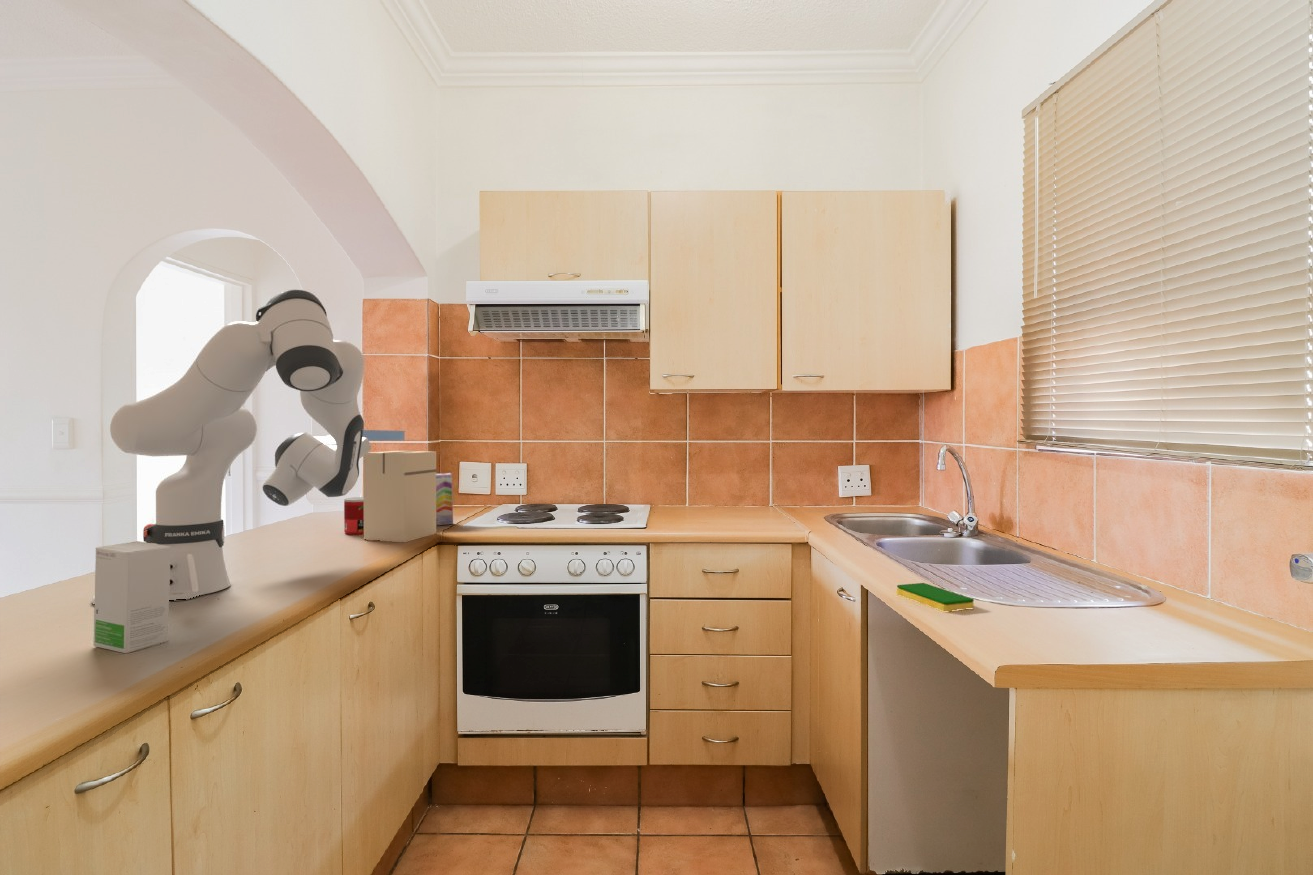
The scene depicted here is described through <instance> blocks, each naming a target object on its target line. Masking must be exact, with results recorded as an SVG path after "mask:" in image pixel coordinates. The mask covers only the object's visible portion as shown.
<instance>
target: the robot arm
mask: <svg viewBox="0 0 1313 875" xmlns="http://www.w3.org/2000/svg"><path fill="white" fill-rule="evenodd" d="M327 315H328V314H327V312H326V308H325V307H324V305H323V304H322V302H321V301H320V300H319V298H318V297H317V296H316V295H315V294H314V293H312V292H310V291H307V290H303V289H289V290H284V291H282V292H280V293H277V294H276V295H274V296H273V297H271V299H269V300H268V302H267V303H266V305H263V306H262V307H259V308H258V309H257V311H256V313H255V321H256V322H248V321H241V320H240V321H233V322H229V323H228V324H225V325H224V326H223V327H221V328H220V330H218V331H217V332H215V334H214V335H213V336H212V337H211V338H210V339H209V340H208V341H207V343H206V344H205V345H204V347H203V348H202V349H201V351H200V352H199V353H198V355H197V357H196V358H195V360H194V361H193V362H192V364H191V365H190V366H189V368H188V369H187V371H186V372H185V373H184V375H183V376H182V377H181V378H180V379H179V380H177V381H176V382H174V383H173V384H172V385H170V386H168V387H167V388H165V389H163V390H162V391H160V392H158V393H156V394H154V395H152V396H150V397H149V396H148V397H147V398H145V399H142V400H139V401H136V402H130V403H127V404H124V405H122V406H121V407H120V408H118V410H116V412H115V413H114V414H113V416H112V419H111V420H110V421H111V422H110V425H109V431H110V436H111V438H112V441H113V442H114V444H115V445H116V446H117V448H118V449H119V450H121V451H122V452H124V453H125V454H131V455H132V454H133V455H138V456H146V457H168V456H169V457H174V456H175V457H176V456H177V457H178V456H186V459H185V462H184V464H183V465H182V467H181V468H180V469H179V470H178V471H177V472H175V473H172V474H171V475H169V476H167V477H165V478H164V479H162V481H160V482H159V483H158V486H157V488H156V489H155V523H148V524H146V525H145V526H144V527H143V533H142V534H143V535H142V536H143V542H146V543H156V544H158V545H164V546H169V547H171V559H170V591H169V600H174V601H176V600H175V599H186V600H190V598H191V599H193V597H194V598H197V597H199V595H200V596H202V595H206V594H207V595H208V594H212V593H215V592H219V591H221V590H225V589H227V588H229V587H230V586H231V585H232V583H231V581H230V578H229V574H228V571H227V567H226V561H225V557H224V556H225V555H224V550H223V546H224V544H225V525H224V520H223V519H222V498H223V496H222V495H223V485H224V481H225V478H226V475H227V474H228V473H227V472H228V471H229V469H230V467H231V466H232V464H233V462H234V461H235V460H236V459H237V457H239V455H240V454H242V453H243V452H244V451H245V450H247V449H248V448H250V446H251V445H252V444H253V442H254V441H255V439H256V436H257V431H258V428H257V422H256V419H255V417H254V415H253V414H252V412H250V410H249V409H247V408H245V407H243V406H244V404H245V403H246V402H247V400H248V399H249V397H250V396H252V395H251V394H253V392H254V390H255V389H256V388H257V386H259V384H260V382H261V381H262V380H263V377H264V376H265V374H266V373H267V372H268V371H269V370H270V369H271V368H273V367H275V370H276V372H277V374H278V376H279V378H280V379H281V381H282V382H283V384H284V385H286V386H287V387H289V388H290V389H294V390H296V391H299V396H300V401H301V405H302V407H303V409H304V410H305V412H306V413H307V414H308V415H309V416H310V417H311V418H312V419H313V420H314V421H316V423H318V424H319V425H320V426H321V427H322V428H323V429H324V430H325V431H326V432H327V433H328V435H325V436H313V435H311V434H310V433H308V432H305V431H303V432H298V433H297V432H296V433H293V434H291V435H290V436H289V437H287V438H286V439H285V440H283V442H281V443H280V444H279V446H277V449H275V453H274V466H275V469H274V471H273V472H272V474H271V475H270V476H268V478H267V479H266V480H265V481H264V483H263V484H262V491H263V493H264V494H265V496H266V497H267V498H268V499H269V500H271V501H272V502H273V503H275V504H277V505H278V506H283V507H288V506H290V505H292V504H295V503H296V502H298V501H299V500H300V499H302V498H303V497H304V496H305V495H307V494H308V493H309V492H310V491H311V490H313V488H316V489H317V490H318V491H319V492H321V493H322V494H323V495H325V496H326V497H328V498H336V497H337V498H338V497H342V496H343V497H344V496H346V495H347V494H348V493H349V492H350V491H351V490H352V489H353V488H354V487H355V485H356V483H357V481H358V478H359V475H360V466H359V464H360V463H359V461H360V459H361V458H362V457H363V456H364V455H365V454H367V453H368V452H370V451H371V450H372V446H371V443H370V441H369V440H368V439H367V438H366V437H363V430H365V429H364V427H365V422H364V418H363V417H362V415H361V412H360V409H359V405H358V394H359V393H360V392H359V391H360V390H361V386H362V384H363V379H364V373H365V358H364V354H363V353H362V351H361V350H360V349H359V348H358V347H357V346H356V345H354V344H352V343H351V342H348V341H345V340H340V339H339V340H338V339H336V340H335V339H334V334H333V330H332V328H331V325H330V322H329V320H328V317H327ZM196 596H197V597H196ZM91 603H92V604H93V605H94V604H95V593H94V594H93V595H92V599H91Z"/></svg>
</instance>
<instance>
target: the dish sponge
mask: <svg viewBox="0 0 1313 875" xmlns="http://www.w3.org/2000/svg"><path fill="white" fill-rule="evenodd" d="M896 587H897V588H896V596H899V595H901V596H900V597H902V596H904V597H906V598H905V599H907V598H909V599H908V600H910V599H913V600H916V601H918V602H920V603H919V604H921V603H923V604H927V605H929V606H931V607H930V608H932V607H933V608H932V609H934V608H938V609H940V610H943V611H952V610H957V609H966V608H973V609H974V601H975V600H974V598H972V597H968V596H966V595H962V594H958V593H956V592H952V591H951V590H947V589H944V588H941V587H937V586H935V585H931V584H928V583H925V582H919V583H918V582H917V583H908V584H907V583H906V584H897V586H896ZM904 597H903V598H904ZM913 600H912V601H913ZM918 602H917V603H918ZM923 604H922V605H923ZM929 606H928V607H929ZM940 610H939V611H940Z"/></svg>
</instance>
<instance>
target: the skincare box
mask: <svg viewBox="0 0 1313 875" xmlns="http://www.w3.org/2000/svg"><path fill="white" fill-rule="evenodd" d="M170 559H171V547H169V546H164V545H158V544H156V543H146V542H144V541H129V542H124V543H115V544H110V545H103V546H102V545H101V546H97V547H95V563H94V564H95V569H94V572H95V574H94V594H95V605H94V604H93V605H94V608H93V611H94V612H93V614H94V615H93V645H92V646H94V647H98V648H100V649H105V650H110V651H114V652H118V653H122V654H129V653H133V652H136V651H140V650H144V649H147V648H150V647H153V646H157V645H161V644H164V643H163V642H165V643H167V642H169V621H170V618H169V617H170V612H169V611H170V601H169V591H170ZM160 643H161V644H160Z"/></svg>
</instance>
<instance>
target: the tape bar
mask: <svg viewBox="0 0 1313 875" xmlns="http://www.w3.org/2000/svg"><path fill="white" fill-rule="evenodd" d="M405 432H406V431H405V430H384V429H382V430H380V429H379V430H376V429H373V430H372V429H364V430H363V437H366V438H367V439H368V440H369V442H370V441H371V442H372V441H373V442H375V441H377V442H379V441H380V442H381V441H382V442H384V441H385V442H388V441H390V442H391V441H392V442H397V441H398V442H399V441H403V442H405V434H406V433H405Z"/></svg>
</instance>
